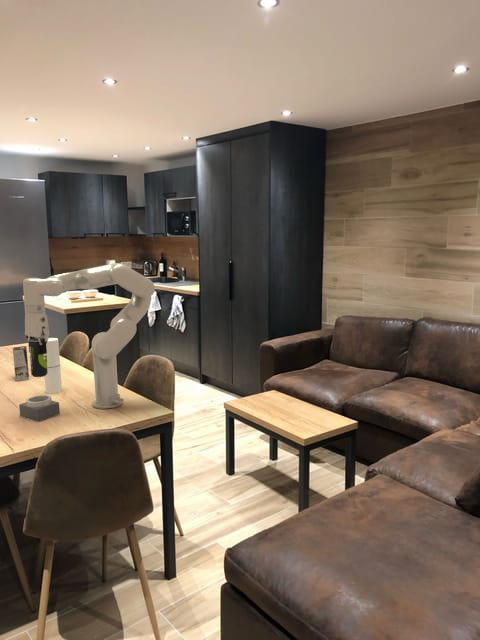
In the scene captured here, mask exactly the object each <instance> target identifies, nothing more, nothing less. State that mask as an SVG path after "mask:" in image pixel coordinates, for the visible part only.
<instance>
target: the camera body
mask: <svg viewBox="0 0 480 640" xmlns="http://www.w3.org/2000/svg"><path fill="white" fill-rule="evenodd" d="M18 407H19V408H18V409H19V416H20V417H21V416H22V417H21V418H24V417H25V419H28V418H29V419H28V420H32V421H35V422H38V423H39V422H42V421H45V420H47V419H49V418H52V417H56V416H58V415H61V411H60V410H61V409H60V402H58V401H54V400H52V396H51V395H47V394H39V395H33V396H30V397H28V398H26V399H25V402H23V403H20V404H18Z"/></svg>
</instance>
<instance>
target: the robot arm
mask: <svg viewBox="0 0 480 640" xmlns="http://www.w3.org/2000/svg"><path fill="white" fill-rule="evenodd" d="M154 283H155V282H153V281H152V280H151V279H150V278H148V277H146V276H145V275H143V274H141V273H139V272H138V271H136V270H135V269H133V268H131V267H130V266H128V265H126V264H124V263H121V262H113V263H110V264H105V265H104V264H103V265H100V266H95V267H89V268H84V269H80V270H77V271H70V272H66V273H65V272H64V273H61V274H55V275H51V276H47V278H39V277H29V278H24V279H23V281H22V286H23V288H22V289H23V302H24V303H23V304H24V314H25V315H24V333H23V334H24V335H25V338H26V339H27V340H26V341H27V343H28V344H27V345H28V346H29V342H30V339H35V338H38V341H39V344H40V345H38V346H39V355H42V354H46V353H47V347H46V344H47V341H48V339H49V338H51V337H50V327H49V325H50V324H49V320H48V316H47V315H48V314H47V313H46V303H45V297H59V296H61V295H62V294H63V293H64V292H70V291H74V290H93V289H99V288H103V287H108V286H112V285H118V286H120V287H121V288H122V289H124V290H126V291H128V292H130V293H131V299H130V300H129V301H128V303H127V304H126V305H125V307H124V308H122V309H121V310H120V311H119V313H117V315H116V316H115V317H113V318H112V320H111V321H110V328H109V329H108V330H107V331H102V332H97V334H95V335H94V336H93V338H92V340H91V354H92V361H93V376H94V378H93V379H94V391H95V395H94V396H95V400H93V401H92V404H91V405H92V407H93V408H95V409H99V410H100V409H101V410H107V409H112V408H117V407H119V406H121V405H122V404H123V402H124V398H121V395H120V394H121V393H120V394H119V384H118V371H117V370H118V367H117V366H118V365H117V356H118V354H119V353H120V352H121V351H122V350H123V349H124V348H125V347H126V346H127V345H128V344H129V342H130V341H131V340H132V339H133V338H134V336H135V335H136V333H137V324H138V323H139V322H140V321H141V319H142V318H144V316H145V315H146V314H147V312H148V311H149V309H150V306H151V302H152V296H153V295H154V294H155V291H156V286H155V284H154ZM42 338H43V340H42V341H41V339H42ZM28 353H30V350H29V349H28Z"/></svg>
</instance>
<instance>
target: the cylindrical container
mask: <svg viewBox="0 0 480 640" xmlns="http://www.w3.org/2000/svg"><path fill="white" fill-rule="evenodd" d="M46 347H47V353H46V356H47V371H48V373H47V375H46V376H44V382H45V383H44V384H45V394H49V395H52V394H59V393H61V392H62V391H63V386H62V373H61V359H60V346H59V339H58V338H56V337H49V339H48V341H47V344H46Z"/></svg>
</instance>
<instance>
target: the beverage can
mask: <svg viewBox="0 0 480 640" xmlns="http://www.w3.org/2000/svg"><path fill="white" fill-rule="evenodd" d="M42 340H43V338H42V339H41V341H42ZM38 345H40V344H39V341H38V338H35V339H30V342H29V345H28V351H29V350H30V352H29V360H30V361H29V362H30V375H31V376H32V377H33V378H41V377H45V376H46V375H47V373H48V371H47V356H46V354H42V355H39V346H38Z"/></svg>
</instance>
